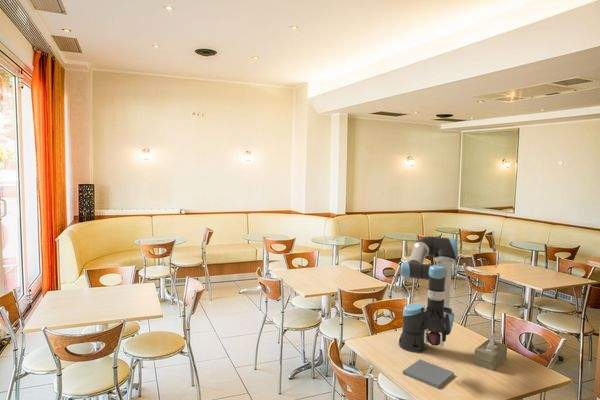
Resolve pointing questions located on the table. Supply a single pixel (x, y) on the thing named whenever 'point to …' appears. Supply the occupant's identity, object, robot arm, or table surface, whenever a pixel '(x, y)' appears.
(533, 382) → the table surface
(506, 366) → the table surface
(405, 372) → the slate plate
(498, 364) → the tissue box
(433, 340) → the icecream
